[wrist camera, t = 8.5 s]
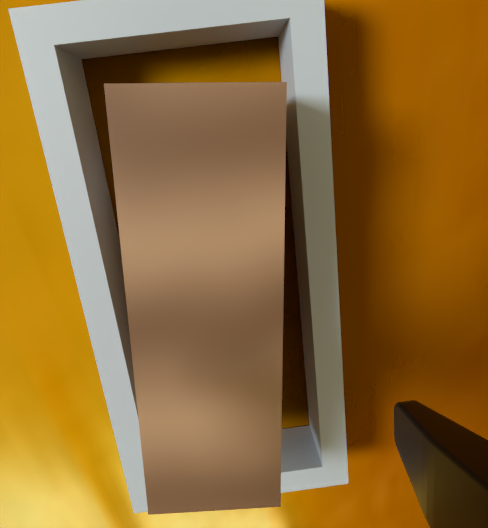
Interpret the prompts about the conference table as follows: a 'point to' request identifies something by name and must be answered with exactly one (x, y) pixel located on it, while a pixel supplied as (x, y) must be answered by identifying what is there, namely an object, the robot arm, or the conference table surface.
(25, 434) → the conference table surface
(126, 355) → the peg frame
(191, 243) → the brown block
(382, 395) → the conference table surface
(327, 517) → the conference table surface
